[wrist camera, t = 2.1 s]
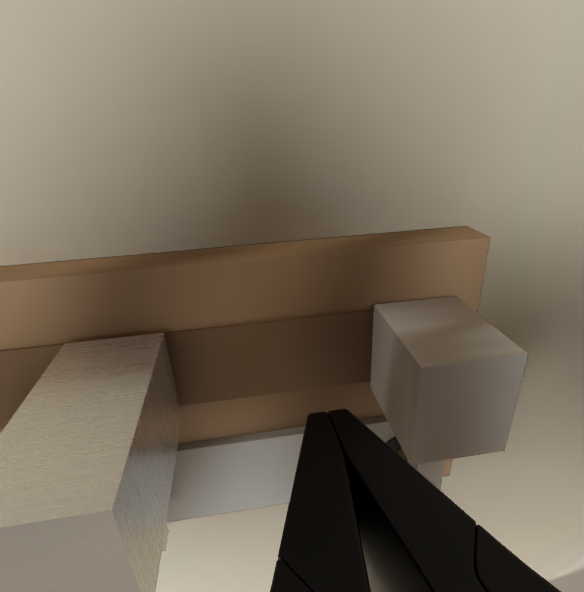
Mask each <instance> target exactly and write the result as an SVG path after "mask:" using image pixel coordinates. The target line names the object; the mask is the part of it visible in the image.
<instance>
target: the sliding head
mask: <svg viewBox="0 0 584 592" xmlns="http://www.w3.org/2000/svg"><path fill="white" fill-rule="evenodd" d="M181 423H182V415H181V410H180V405H179V401H178V396H177V391H176V387H175V382H174V377H173V372H172V368H171V363H170V358H169V353H168V349H167V344H166V339H165V334H164V333H157V334H148V335H139V336H129V337H120V338H111V339H102V340H93V341H83V342H74V343H65V344H64V345H63V346H62V348H61V349H60V351H59V352H58V353H57V355H56V356H55V358H54V359H53V360H52V362H51V363H50V365H49V366H48V367H47V369H46V370H45V372H44V373H43V374H42V376H41V377H40V379H39V380H38V381H37V383H36V384H35V386H34V387H33V388H32V390H31V391H30V393H29V394H28V395H27V397H26V398H25V400H24V401H23V403H22V404H21V405H20V407H19V408H18V410H17V411H16V412H15V414H14V415H13V417H12V418H11V419H10V421H9V422H8V424H7V425H6V426H5V428H4V429H3V431H2V432H1V433H0V592H156V585H157V579H158V572H159V566H160V559H161V553H162V551H166V544H167V537H168V526H167V523H166V522H167V515H168V509H169V502H170V494H171V488H172V481H173V475H174V468H175V462H176V455H177V449H178V442H179V436H180V429H181Z"/></svg>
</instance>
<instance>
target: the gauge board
mask: <svg viewBox="0 0 584 592" xmlns="http://www.w3.org/2000/svg"><path fill="white" fill-rule="evenodd" d="M489 242H490V237H488V236H486V235H484V234H482V233H480V232H478V231H476V230H474V229H471V228H469V227H467V226H461V227H450V228H438V229H427V230H415V231H404V232H393V233H381V234H370V235H358V236H347V237H335V238H324V239H312V240H301V241H289V242H278V243H266V244H255V245H243V246H232V247H221V248H209V249H198V250H186V251H175V252H163V253H152V254H140V255H129V256H117V257H106V258H94V259H83V260H71V261H60V262H49V263H37V264H26V265H14V266H3V267H0V433H1V432H2V431H3V429H4V428H5V426H6V425H7V424H8V422H9V421H10V419H11V418H12V417H13V415H14V414H15V412H16V411H17V410H18V408H19V407H20V405H21V404H22V403H23V401H24V400H25V398H26V397H27V395H28V394H29V393H30V391H31V390H32V388H33V387H34V386H35V384H36V383H37V381H38V380H39V379H40V377H41V376H42V374H43V373H44V372H45V370H46V369H47V367H48V366H49V365H50V363H51V362H52V360H53V359H54V358H55V356H56V355H57V353H58V352H59V351H60V349H61V348H62V346H63V345H64V344H65V343H74V342H83V341H93V340H102V339H111V338H120V337H129V336H139V335H148V334H157V333H164V334H165V339H166V344H167V349H168V353H169V358H170V363H171V368H172V372H173V377H174V382H175V387H176V391H177V396H178V401H179V405H180V410H181V415H182V423H181V429H180V436H179V442H178V449H177V455H176V462H175V468H174V475H173V481H172V488H171V494H170V502H169V509H168V515H167V522H173V521H179V520H185V519H192V518H198V517H204V516H210V515H217V514H223V513H229V512H236V511H242V510H248V509H254V508H261V507H267V506H273V505H279V504H286V503H289V502H290V497H291V492H292V487H293V483H294V478H295V473H296V468H297V464H298V459H299V454H300V449H301V444H302V440H303V435H304V430H305V425H306V421H307V416H308V414H310V413H315V412H322V411H325V412H327V413H328V412H329V411H330V410H337V409H347V410H349V411H350V412H351V413H352V414H353V415H354V416H356V417H357V418H358V419H359V420H360V421H361V422H362V423H364V424H365V425H366V426H367V427H368V428H369V429H370V430H372V431H373V432H374V433H375V434H376V435H377V436H378V437H380V438H381V439H382V440H383V441H384V442H385V443H386V444H388V445H389V446H390V447H391V448H392V449H393V450H394V451H396V452H397V453H398V454H399V455H400V456H401V457H402V458H404V459H405V460H406V461H407V462H408V463H409V464H410V465H412V466H413V467H414V468H415V469H416V470H417V471H418V472H420V473H421V474H422V475H423V476H424V477H425V478H426V479H428V480H429V481H430V482H431V483H432V484H433V485H434V486H436V487H437V488H438V489H439V490H440V488H441V482H442V477H444V476H449V475H450V469H451V463H452V459H454V458H460V457H466V456H473V455H479V454H486V453H492V452H499V451H505V447H506V443H507V439H508V435H509V430H510V426H511V422H512V418H513V414H514V410H515V406H516V402H517V398H518V394H519V390H520V386H521V382H522V377H523V373H524V369H525V365H526V361H527V357H528V353H526V352H525V351H524V350H523V349H521V348H520V347H519V346H518V345H517V344H515V343H514V342H513V341H512V340H510V339H509V338H508V337H507V336H505V335H504V334H503V333H502V332H500V331H499V330H498V329H497V328H496V327H494V326H493V325H492V324H491V323H489V322H488V321H487V320H486V319H484V318H483V317H482V316H481V315H479V314H478V313H477V312H478V306H479V300H480V294H481V288H482V283H483V277H484V271H485V265H486V259H487V254H488V248H489ZM167 522H166V523H167Z"/></svg>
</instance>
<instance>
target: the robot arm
mask: <svg viewBox="0 0 584 592" xmlns="http://www.w3.org/2000/svg"><path fill="white" fill-rule="evenodd" d="M270 592H561V591H559V590H558V589H557V588H556V587H554V586H553V585H552V584H550V583H549V582H548V581H547V580H545V579H544V578H543V577H541V576H540V575H539V574H538V573H536V572H535V571H534V570H532V569H531V568H530V567H528V566H527V565H526V564H525V563H524V562H522V561H521V560H520V559H519V558H518V557H517V556H515V555H514V554H513V553H512V552H511V551H509V550H508V549H507V548H506V547H505V546H503V545H502V544H501V543H500V542H499V541H497V540H496V539H495V538H494V537H493V536H492V535H491V534H489V533H488V532H487V531H486V530H485V529H484V528H483V527H481V526H480V525H476V522H475V521H474V520H473V519H472V518H471V517H470V516H469V515H467V514H466V513H465V512H464V511H463V510H462V509H461V508H460V507H458V506H457V505H456V504H455V503H454V502H453V501H452V500H450V499H449V498H448V497H447V496H446V495H445V494H444V493H442V492H441V491H440V490H439V489H438V488H437V487H436V486H434V485H433V484H432V483H431V482H430V481H429V480H428V479H426V478H425V477H424V476H423V475H422V474H421V473H420V472H418V471H417V470H416V469H415V468H414V467H413V466H412V465H410V464H409V463H408V462H407V461H406V460H405V459H404V458H402V457H401V456H400V455H399V454H398V453H397V452H396V451H394V450H393V449H392V448H391V447H390V446H389V445H388V444H386V443H385V442H384V441H383V440H382V439H381V438H380V437H378V436H377V435H376V434H375V433H374V432H373V431H372V430H370V429H369V428H368V427H367V426H366V425H365V424H364V423H362V422H361V421H360V420H359V419H358V418H357V417H356V416H354V415H353V414H352V413H351V412H350V411H349V410H347V409H337V410H330V411H329V412H328V413H327V412H325V411H322V412H315V413H310V414H308V416H307V421H306V425H305V430H304V435H303V440H302V444H301V449H300V454H299V459H298V464H297V468H296V473H295V478H294V483H293V487H292V492H291V497H290V502H289V506H288V511H287V516H286V521H285V525H284V530H283V535H282V540H281V545H280V549H279V554H278V560H277V562H276V567H275V572H274V577H273V581H272V586H271V590H270Z"/></svg>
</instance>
